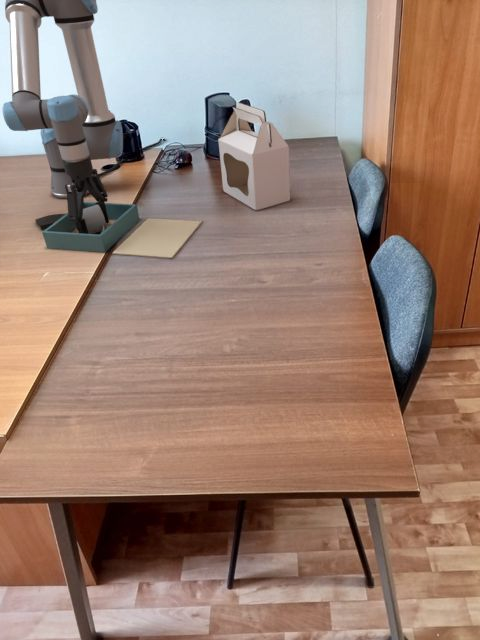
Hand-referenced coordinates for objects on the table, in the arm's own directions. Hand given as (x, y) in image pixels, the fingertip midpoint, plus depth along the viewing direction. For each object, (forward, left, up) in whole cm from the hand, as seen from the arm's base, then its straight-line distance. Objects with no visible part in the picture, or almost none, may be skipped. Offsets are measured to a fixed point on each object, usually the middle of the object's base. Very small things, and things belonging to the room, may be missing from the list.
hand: (95, 231), depth 160 cm
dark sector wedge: (-6, -17, -1) cm, 18 cm away
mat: (0, +21, -1) cm, 21 cm away
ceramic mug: (+1, 0, -1) cm, 1 cm away
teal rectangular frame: (0, 0, -1) cm, 1 cm away
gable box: (-35, +41, -1) cm, 54 cm away
